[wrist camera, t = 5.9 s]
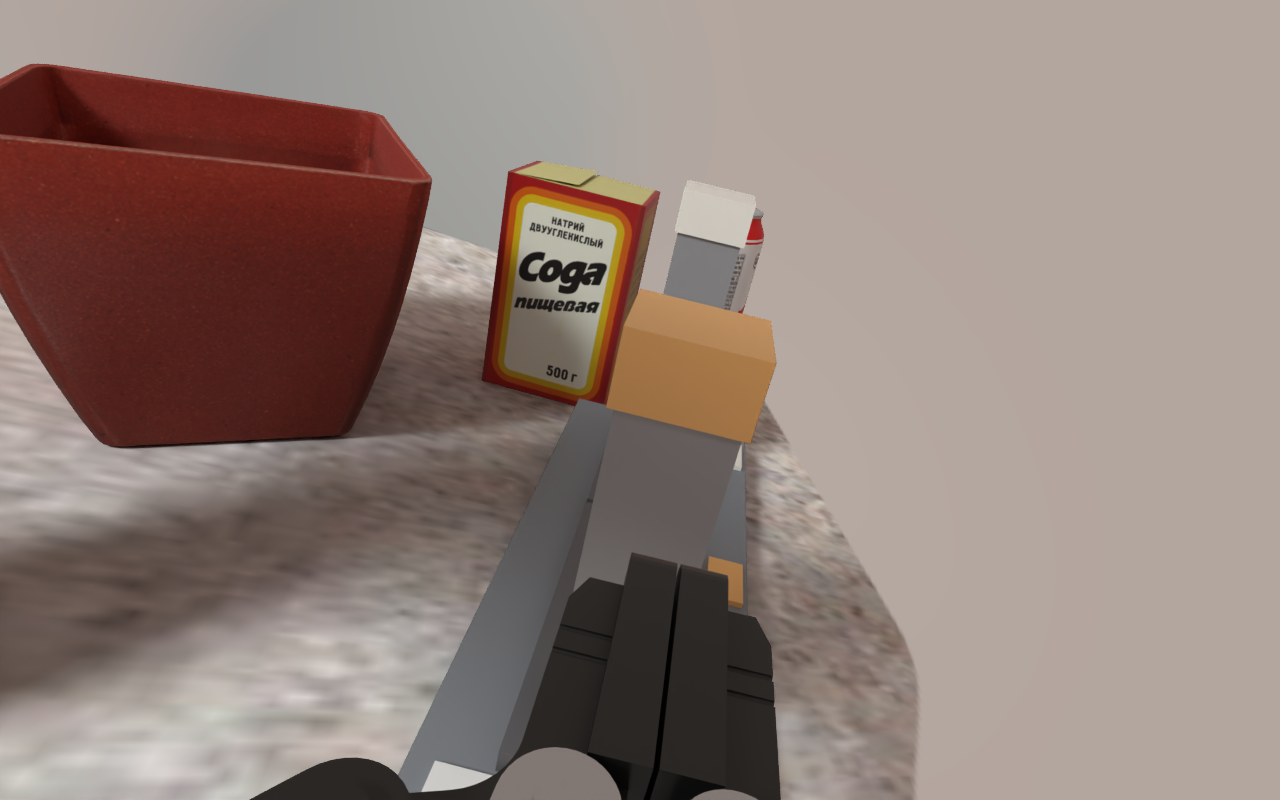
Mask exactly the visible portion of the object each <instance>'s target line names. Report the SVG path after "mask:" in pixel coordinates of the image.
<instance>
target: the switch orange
mask: <svg viewBox="0 0 1280 800" xmlns="http://www.w3.org/2000/svg"><path fill="white" fill-rule="evenodd" d="M775 366H776V357H775V349H774V342H773V334H772V326H771V321H769V320H765V319H761V318H757V317H753V316H749V315H745V314H741V313H737V312H733V311H729V310H725V309H721V308H717V307H713V306H709V305H705V304H701V303H697V302H692V301H688V300H684V299H680V298H676V297H672V296H668V295H664V294H660V293H656V292H651V291H648V290H643V289H640V290H639V292H638V295H637V297H636V299H635V301H634V304H633V306H632V308H631V310H630V313H629V315H628V317H627V319H626V322H625V324H624V326H623V331H622V336H621V340H620V345H619V350H618V354H617V359H616V363H615V368H614V373H613V377H612V382H611V387H610V391H609V396H608V400H607V405H606V408H609V409H613V414H612V419H611V423H610V428H609V432H608V437H607V441H606V446H605V450H604V455H603V459H602V464H601V468H600V473H599V477H598V482H597V486H596V491H595V495H594V500H593V504H592V509H591V513H590V518H589V522H588V527H587V531H586V536H585V541H584V545H583V550H582V554H581V559H580V563H579V568H578V572H577V577H576V581H575V586H574V590H573V592H574V591H575V590H577V589H578V588H579V587H580V586H581V585H582V584H583V583H584V582H585V581H586V580H587V579H588V578H589V577H592V578H596V579H600V580H604V581H608V582H612V583H616V584H620V585H624V581H625V577H626V573H627V569H628V565H629V560H630V557H631V553H632V552H634V553H638V554H642V555H646V556H650V557H654V558H658V559H662V560H667V561H671V562H675V563H677V564H678V567H677V573H678V570H679V567H680V565H681V564H684V565H688V566H692V567H696V568H700V569H701V568H702V565H703V562H704V559H705V556H706V553H707V549H708V546H709V543H710V540H711V537H712V534H713V531H714V527H715V524H716V521H717V518H718V515H719V512H720V509H721V506H722V502H723V499H724V496H725V493H726V490H727V487H728V484H729V481H730V477H731V474H732V471H733V468H734V465H735V462H736V459H737V455H738V452H739V449H740V446H741V443H742V442H745V443H749V444H750V443H751V440H752V437H753V434H754V431H755V428H756V425H757V421H758V418H759V415H760V412H761V409H762V406H763V403H764V400H765V397H766V394H767V390H768V388H769V385H770V381H771V378H772V375H773V372H774V369H775Z"/></svg>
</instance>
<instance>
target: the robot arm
mask: <svg viewBox="0 0 1280 800" xmlns="http://www.w3.org/2000/svg"><path fill="white" fill-rule="evenodd" d="M677 567H678V564H677V563H675V562H671V561H667V560H662V559H658V558H654V557H650V556H646V555H642V554H638V553H634V552H632V553H631V557H630V560H629V565H628V569H627V573H626V577H625V581H624V585H620V584H616V583H612V582H608V581H604V580H600V579H596V578H592V577H589V578H588V579H587V580H586V581H585V582H584V583H583V584H582V585H581V586H580V587H579V588H578V589H577V590H575V591H574V592H573V593H572V594H571V595H570V596H569V598H568V601H567V604H566V607H565V610H564V613H563V616H562V619H561V623H560V626H559V629H558V632H557V635H556V638H555V641H554V644H553V648H552V651H551V653H550V656H549V660H548V663H547V666H546V669H545V672H544V675H543V678H542V681H541V684H540V687H539V690H538V693H537V697H536V700H535V703H534V706H533V709H532V712H531V715H530V718H529V721H528V724H527V727H526V730H525V734H524V737H523V740H522V742H521V744H520V747H519V749H518V750H517V752H516V753H515V755H514V757H513V758H512V759H511V760H510V761H509V762H508V764H507V765H506V766H505V767H503V768H502V769H501V770H500V771H499V772H497V773H496V774H495V775H493V776H491V777H490V778H488V779H486V780H484V781H482V782H480V783H477V784H475V785H472V786H468V787H465V788H460V789H453V790H442V791H428V792H415V793H409V791H408V790H407V788H406V786H405V784H404V782H403V781H402V780H401V778H400V777H399V776H398V775H397V774H396V773H395V772H394V771H392V770H391V769H390V768H388V767H387V766H385V765H383V764H381V763H379V762H375V761H372V760H369V759H363V758H341V759H335V760H330V761H327V762H324V763H320V764H318V765H316V766H313V767H311V768H309V769H307V770H305V771H303V772H301V773H299V774H297V775H295V776H293V777H292V778H290V779H288V780H286V781H284V782H282V783H280V784H278V785H276V786H274V787H273V788H271V789H269V790H267V791H265V792H263V793H261V794H259V795H257V796H255V797H254V798H252V799H250V800H781V797H780V781H779V765H778V749H777V733H776V717H775V707H774V685H773V682H772V678H773V669H772V653H771V645H770V643H769V642H768V640H767V638H766V636H765V634H764V632H763V630H762V628H761V627H760V625H759V623H758V621H757V619H756V618H755V617H751V616H747V615H743V614H739V613H735V612H731V611H728V585H729V582H728V575H725V574H720V573H716V572H712V571H708V570H704V569H700V568H696V567H692V566H688V565H684V564H681V565H680V567H679V570H678V573H677Z"/></svg>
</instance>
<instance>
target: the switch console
mask: <svg viewBox="0 0 1280 800" xmlns="http://www.w3.org/2000/svg"><path fill="white" fill-rule="evenodd" d="M612 414H613V409H609V408H606V405H604V404H600V403H596V402H592V401H588V400H584V399H580V398H579V400H578V402H577V404H576V406H575V408H574V410H573V412H572V414H571V416H570V419H569V421H568V423H567V425H566V427H565V429H564V431H563V433H562V435H561V437H560V439H559V441H558V443H557V446H556V448H555V450H554V452H553V454H552V456H551V458H550V460H549V462H548V464H547V466H546V468H545V470H544V473H543V475H542V477H541V479H540V481H539V483H538V485H537V487H536V489H535V491H534V493H533V495H532V498H531V500H530V502H529V504H528V506H527V508H526V510H525V512H524V514H523V516H522V518H521V520H520V522H519V525H518V527H517V529H516V531H515V533H514V535H513V537H512V539H511V541H510V543H509V545H508V547H507V549H506V552H505V554H504V556H503V558H502V560H501V562H500V564H499V566H498V568H497V570H496V572H495V574H494V576H493V579H492V581H491V583H490V585H489V587H488V589H487V591H486V593H485V595H484V597H483V599H482V601H481V603H480V606H479V608H478V610H477V612H476V614H475V616H474V618H473V620H472V622H471V624H470V626H469V628H468V630H467V633H466V635H465V637H464V639H463V641H462V643H461V645H460V647H459V649H458V651H457V653H456V655H455V658H454V660H453V662H452V664H451V666H450V668H449V670H448V672H447V674H446V676H445V678H444V680H443V682H442V685H441V687H440V689H439V691H438V693H437V695H436V697H435V699H434V701H433V703H432V705H431V707H430V709H429V712H428V714H427V716H426V718H425V720H424V722H423V724H422V726H421V728H420V730H419V732H418V734H417V736H416V739H415V741H414V743H413V745H412V747H411V749H410V751H409V753H408V755H407V757H406V759H405V761H404V763H403V766H402V768H401V770H400V772H399V774H398V776H399V777H400V778H401V780H402V781H403V782H404V784H405V786H406V788H407V790H408V791H409V793H415V792H428V791H442V790H453V789H460V788H465V787H468V786H472V785H475V784H477V783H480V782H482V781H484V780H486V779H488V778H490V777H491V776H493V775H495V774H496V773H497V772H499V771H500V770H501V769H502V768H503V767H505V766H506V765H507V764H508V762H509V761H510V760H511V759H512V758H513V757H514V755H515V753H516V752H517V750H518V749H519V747H520V744H521V742H522V740H523V737H524V734H525V730H526V727H527V724H528V721H529V718H530V715H531V712H532V709H533V706H534V703H535V700H536V697H537V693H538V690H539V687H540V684H541V681H542V678H543V675H544V672H545V669H546V666H547V663H548V660H549V656H550V653H551V651H552V648H553V644H554V641H555V638H556V635H557V632H558V629H559V626H560V623H561V619H562V616H563V613H564V610H565V607H566V604H567V601H568V598H569V596H570V595H571V594H572V593H573V590H574V586H575V581H576V577H577V572H578V568H579V563H580V559H581V554H582V550H583V545H584V541H585V536H586V531H587V527H588V522H589V518H590V513H591V509H592V504H593V500H594V495H595V491H596V486H597V482H598V477H599V473H600V468H601V464H602V459H603V455H604V450H605V446H606V441H607V437H608V432H609V428H610V423H611V419H612ZM701 569H704V570H708V571H712V572H716V573H720V574H725V575H728V582H729V585H728V611H731V612H735V613H739V614H743V615H747V616H748V612H747V553H746V495H745V442H742V443H741V446H740V449H739V452H738V455H737V459H736V462H735V465H734V468H733V471H732V474H731V477H730V481H729V484H728V487H727V490H726V493H725V496H724V499H723V502H722V506H721V509H720V512H719V515H718V518H717V521H716V524H715V527H714V531H713V534H712V537H711V540H710V543H709V546H708V549H707V553H706V556H705V559H704V562H703V565H702V568H701Z"/></svg>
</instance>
